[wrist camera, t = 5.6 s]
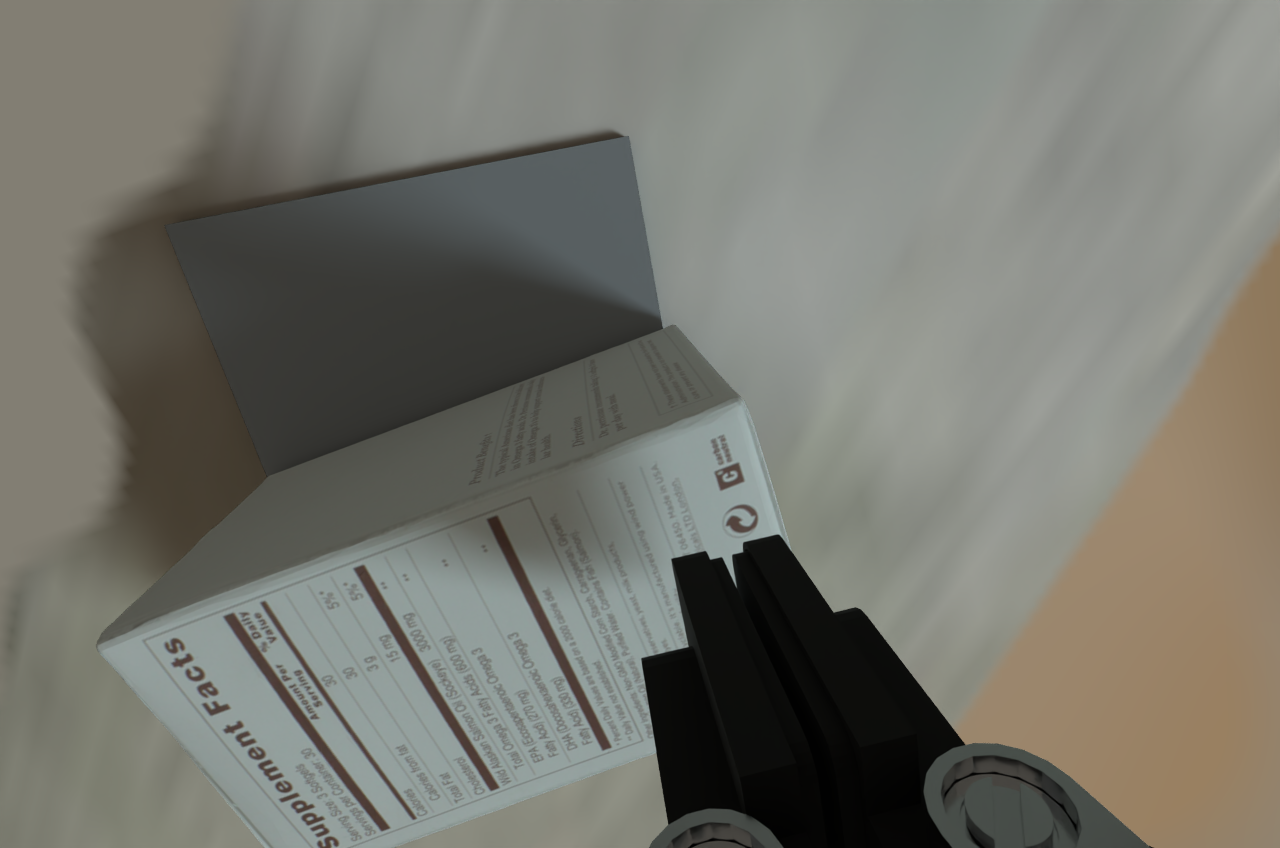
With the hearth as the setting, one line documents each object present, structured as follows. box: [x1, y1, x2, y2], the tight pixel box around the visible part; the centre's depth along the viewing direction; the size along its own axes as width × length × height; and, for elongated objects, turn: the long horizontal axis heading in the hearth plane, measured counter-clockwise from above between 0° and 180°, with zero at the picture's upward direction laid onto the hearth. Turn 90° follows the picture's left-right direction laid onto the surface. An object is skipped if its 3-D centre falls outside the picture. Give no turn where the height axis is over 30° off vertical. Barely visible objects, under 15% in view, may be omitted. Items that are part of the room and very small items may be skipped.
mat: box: [164, 136, 663, 477], centre depth 19 cm, size 12×18×1 cm, turn 11°
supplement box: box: [96, 325, 791, 848], centre depth 16 cm, size 7×7×13 cm
